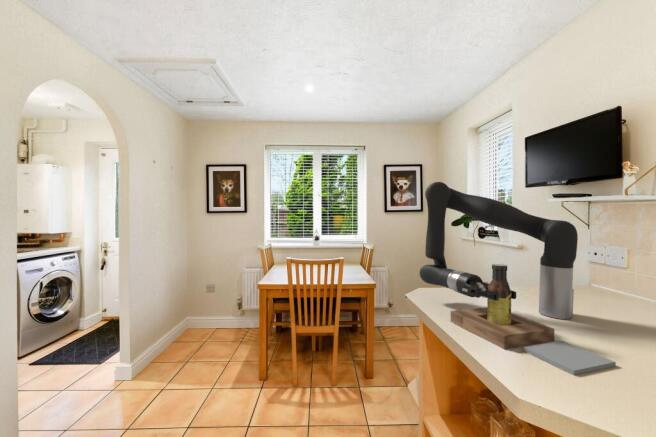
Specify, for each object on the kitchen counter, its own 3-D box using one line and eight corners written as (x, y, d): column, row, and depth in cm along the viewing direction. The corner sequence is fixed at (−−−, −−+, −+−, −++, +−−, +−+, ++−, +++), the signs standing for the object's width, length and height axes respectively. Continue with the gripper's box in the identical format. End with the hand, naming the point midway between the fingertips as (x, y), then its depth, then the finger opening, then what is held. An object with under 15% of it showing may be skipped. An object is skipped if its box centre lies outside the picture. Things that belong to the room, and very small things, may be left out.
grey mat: (561, 344, 81) (561, 340, 81) (615, 366, 70) (615, 361, 70) (522, 350, 77) (522, 346, 77) (573, 375, 66) (573, 370, 66)
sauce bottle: (514, 336, 86) (516, 267, 86) (490, 334, 88) (492, 266, 87) (505, 327, 93) (507, 263, 92) (483, 325, 94) (485, 262, 93)
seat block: (494, 316, 102) (494, 306, 102) (554, 341, 83) (554, 328, 83) (450, 321, 97) (450, 311, 97) (504, 349, 78) (504, 335, 78)
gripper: (447, 273, 101) (487, 285, 85) (481, 271, 106) (525, 282, 90) (446, 295, 101) (486, 311, 85) (480, 292, 106) (524, 307, 90)
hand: (506, 296), depth 88 cm, fingers closed on sauce bottle, 6 cm apart
